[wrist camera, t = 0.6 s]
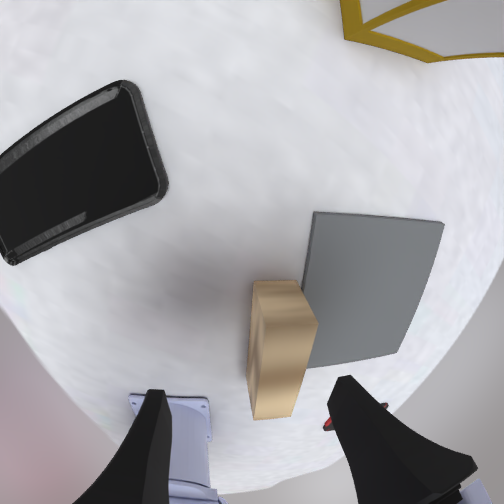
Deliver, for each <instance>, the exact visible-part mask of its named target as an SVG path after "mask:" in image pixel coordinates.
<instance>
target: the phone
mask: <svg viewBox="0 0 504 504" xmlns="http://www.w3.org/2000/svg"><path fill="white" fill-rule="evenodd" d="M163 168H164V165H163V162H162V159H161V156H160V153H159V150H158V147H157V144H156V141H155V138H154V135H153V132H152V128H151V125H150V122H149V119H148V115H147V112H146V109H145V105H144V102H143V98H142V95H141V92H140V90H139V88H138V87H137V86H136V85H135V84H134V83H132V82H129V81H127V80H118V81H115V82H113V83H110V84H108V85H106V86H104V87H102V88H100V89H98V90H96V91H94V92H93V93H91V94H89V95H87V96H85V97H83V98H82V99H80V100H78V101H76V102H74V103H73V104H71V105H69V106H68V107H66V108H64V109H63V110H61V111H60V112H58V113H56V114H55V115H53V116H52V117H50V118H49V119H47V120H46V121H44V122H43V123H41V124H40V125H38V126H37V127H35V128H34V129H33V130H31V131H30V132H29V133H27V134H26V135H24V136H23V137H22V138H21V139H19V140H18V141H17V142H15V143H14V144H13V145H12V146H10V147H9V148H8V149H7V150H6V151H4V152H3V153H2V154H1V155H0V253H1V255H2V257H3V259H4V260H5V261H6V262H7V263H8V264H9V265H12V266H14V265H17V264H19V263H21V262H23V261H25V260H27V259H29V258H31V257H33V256H35V255H37V254H40V253H41V252H43V251H46V250H48V249H50V248H52V247H53V246H56V245H58V244H60V243H62V242H64V241H66V240H69V239H71V238H73V237H75V236H78V235H80V234H82V233H84V232H87V231H89V230H91V229H94V228H96V227H99V226H101V225H103V224H106V223H108V222H111V221H113V220H116V219H118V218H121V217H123V216H126V215H128V214H131V213H133V212H136V211H139V210H141V209H144V208H147V207H149V206H152V205H154V204H156V203H158V202H159V201H160V200H161V199H162V198H163V197H164V196H165V194H166V192H167V190H168V184H169V183H168V177H167V174H166V171H165V168H164V169H163Z"/></svg>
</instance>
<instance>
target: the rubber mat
mask: <svg viewBox="0 0 504 504" xmlns="http://www.w3.org/2000/svg"><path fill="white" fill-rule="evenodd" d="M444 225H445V224H443V223H442V222H435V221H426V220H416V219H406V218H395V217H383V216H370V215H357V214H342V213H326V212H314V215H313V222H312V229H311V236H310V242H309V248H308V255H307V261H306V267H305V273H304V278H303V284H302V292H303V294H304V296H305V298H306V300H307V302H308V304H309V306H310V308H311V310H312V311H313V313H314V315H315V317H316V319H317V321H318V323H319V324H318V328H317V332H316V335H315V339H314V343H313V346H312V350H311V354H310V357H309V361H308V364H307V367H306V369H308V368H316V367H323V366H330V365H337V364H343V363H349V362H355V361H360V360H366V359H371V358H376V357H381V356H385V355H390V354H394V353H397V351H398V349H399V347H400V345H401V343H402V341H403V339H404V337H405V335H406V332H407V330H408V328H409V326H410V324H411V321H412V319H413V317H414V314H415V312H416V309H417V307H418V305H419V302H420V300H421V297H422V294H423V292H424V289H425V286H426V284H427V281H428V278H429V275H430V272H431V269H432V266H433V263H434V260H435V257H436V254H437V250H438V247H439V244H440V240H441V237H442V233H443V229H444Z"/></svg>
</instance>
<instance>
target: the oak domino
mask: <svg viewBox="0 0 504 504" xmlns="http://www.w3.org/2000/svg"><path fill="white" fill-rule="evenodd" d="M318 324H319V323H318V321H317V319H316V317H315V315H314V313H313V311H312V310H311V308H310V306H309V304H308V302H307V300H306V298H305V296H304V294H303V292H302V290H301V288H300V286H299V285H298V283H297V281H296V280H278V281H254V285H253V297H252V310H251V322H250V334H249V347H248V359H247V371H246V379H247V385H248V391H249V397H250V403H251V409H252V415H253V420H265V419H275V418H283V417H291V414H292V411H293V409H294V406H295V403H296V399H297V396H298V393H299V390H300V387H301V384H302V381H303V377H304V374H305V371H306V367H307V364H308V361H309V357H310V354H311V350H312V346H313V343H314V339H315V335H316V332H317V328H318Z"/></svg>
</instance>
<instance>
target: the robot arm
mask: <svg viewBox="0 0 504 504" xmlns="http://www.w3.org/2000/svg"><path fill="white" fill-rule="evenodd" d="M128 400H129V402H130V405H131V407H132V409H133V411H134V413H135V415H136V418H135V420H134V422H133V424H132V426H131V428H130V430H129V432H128V434H127V436H126V437H125V439H124V441H123V442H122V444H121V446H120V447H119V449H118V451H117V452H116V454H115V455H114V457H113V458H112V460H111V461H110V463H109V464H108V465H107V467H106V468H105V470H104V471H103V472H102V473H101V475H100V476H99V477H98V478H97V479H96V481H95V482H94V483H93V484H92V485H91V486H90V487H89V488H88V489H87V490H86V491H85V492H84V493H83V494H82V495H81V496H80V497H79V498H78V499H77V500H76V501H75V502H74V503H73V504H228V503H227V501H226V500H225V499H224V498H222V497H219V496H218V495H217V489H211V488H210V475H209V462H208V446H207V442H210V441H212V434H211V424H210V414H209V403H208V400H207V399H204V398H166V394H165V391H164V390H156V389H149V390H148V391H147V393H146V396H137V395H130V396H129V397H128ZM327 406H328V410H329V414H330V417H331V421H332V424H333V427H334V429H335V432H336V434H337V436H338V439H339V441H340V444H341V446H342V448H343V451H344V453H345V455H346V458H347V460H348V463H349V466H350V469H351V473H352V477H353V480H354V484H355V489H356V493H357V498H358V504H493V503H492V501H491V499H490V497H489V495H488V493H487V491H486V490H485V488H484V486H483V484H482V482H481V480H480V479H477V480H475V481H474V482H472V483H471V484H470V485H468V486H467V487H466V488H464V489H462V490H461V491H459V490H458V489H460V488H461V485H460V483H461V482H462V481H464V480H465V479H466V478H467V477H469V476H470V475H472V474H473V473H474V472H475V471H477V469H478V467H477V465H476V464H475V462H474V460H473V459H472V457H471V456H469V455H465V454H462V453H459V452H455V451H453V450H450V449H447V448H445V447H442V446H440V445H438V444H436V443H434V442H432V441H430V440H428V439H426V438H424V437H423V436H421V435H419V434H418V433H416V432H415V431H413V430H412V429H410V428H409V427H407V426H406V425H405V424H403V423H402V422H401V421H399V420H398V419H397V418H396V417H394V416H393V415H392V414H391V413H390V412H388V411H387V410H386V409H385V408H384V407H383V406H382V405H381V404H380V403H379V402H377V401H376V400H375V399H374V398H373V397H372V396H371V395H370V394H369V393H368V392H367V391H366V390H365V389H364V388H363V387H362V386H361V385H360V384H359V383H358V382H357V381H356V380H355V379H354V378H353V377H352V376H351V375H347V376H342V377H338V379H337V381H336V384H335V386H334V388H333V391H332V393H331V396H330V398H329V400H328V403H327Z"/></svg>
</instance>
